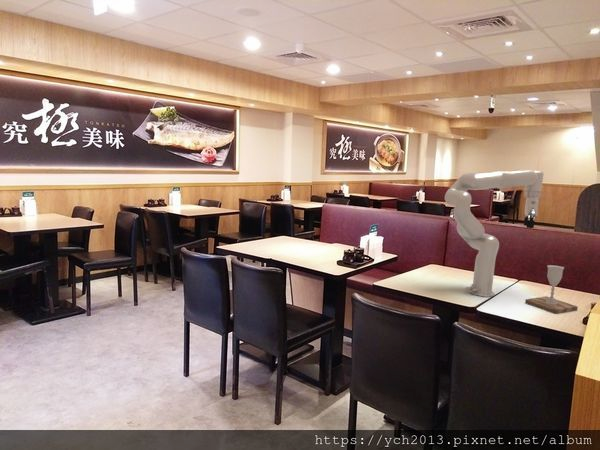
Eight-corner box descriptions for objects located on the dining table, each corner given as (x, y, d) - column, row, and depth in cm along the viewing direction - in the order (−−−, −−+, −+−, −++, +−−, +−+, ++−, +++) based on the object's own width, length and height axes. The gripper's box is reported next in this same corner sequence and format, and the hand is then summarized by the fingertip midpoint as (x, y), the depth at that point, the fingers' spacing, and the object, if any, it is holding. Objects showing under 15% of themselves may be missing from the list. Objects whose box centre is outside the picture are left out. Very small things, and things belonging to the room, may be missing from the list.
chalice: (556, 301, 212) (561, 266, 209) (562, 305, 205) (566, 269, 203) (540, 299, 213) (545, 264, 211) (545, 304, 207) (549, 267, 204)
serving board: (555, 314, 199) (556, 309, 199) (525, 303, 213) (525, 299, 213) (577, 310, 206) (577, 306, 206) (546, 300, 220) (546, 296, 220)
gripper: (543, 195, 213) (539, 229, 216) (537, 194, 229) (533, 225, 232) (527, 194, 216) (522, 228, 218) (522, 193, 232) (518, 224, 234)
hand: (528, 226), depth 225 cm, fingers open, 9 cm apart
